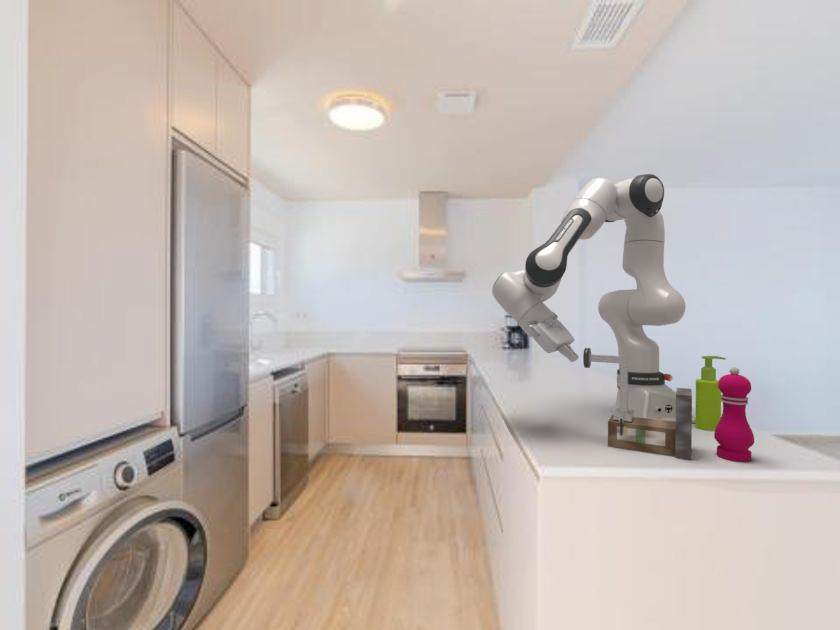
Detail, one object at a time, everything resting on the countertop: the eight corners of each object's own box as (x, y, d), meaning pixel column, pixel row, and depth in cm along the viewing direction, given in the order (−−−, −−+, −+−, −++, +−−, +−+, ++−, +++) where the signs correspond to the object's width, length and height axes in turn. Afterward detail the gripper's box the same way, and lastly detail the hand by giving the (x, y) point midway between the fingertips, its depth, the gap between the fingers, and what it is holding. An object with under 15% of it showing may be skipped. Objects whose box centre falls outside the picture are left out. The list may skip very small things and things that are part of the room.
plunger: (581, 430, 107) (581, 349, 107) (587, 423, 114) (587, 347, 113) (630, 436, 101) (631, 351, 101) (634, 429, 108) (634, 349, 108)
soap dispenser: (729, 431, 117) (730, 357, 117) (701, 430, 118) (701, 356, 118) (718, 426, 123) (719, 355, 123) (691, 424, 124) (692, 354, 124)
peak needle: (623, 434, 102) (623, 426, 102) (623, 434, 102) (624, 425, 102) (626, 435, 102) (626, 426, 102) (626, 434, 102) (626, 426, 102)
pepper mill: (761, 463, 93) (762, 369, 92) (723, 461, 94) (724, 368, 94) (743, 452, 100) (744, 365, 100) (708, 450, 101) (709, 364, 101)
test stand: (607, 447, 104) (607, 388, 103) (613, 436, 112) (613, 382, 112) (691, 460, 95) (691, 395, 95) (690, 447, 103) (691, 388, 103)
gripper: (534, 313, 107) (576, 355, 102) (556, 312, 124) (592, 348, 120) (517, 331, 109) (556, 372, 104) (540, 328, 127) (575, 363, 122)
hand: (575, 359), depth 112 cm, fingers closed
